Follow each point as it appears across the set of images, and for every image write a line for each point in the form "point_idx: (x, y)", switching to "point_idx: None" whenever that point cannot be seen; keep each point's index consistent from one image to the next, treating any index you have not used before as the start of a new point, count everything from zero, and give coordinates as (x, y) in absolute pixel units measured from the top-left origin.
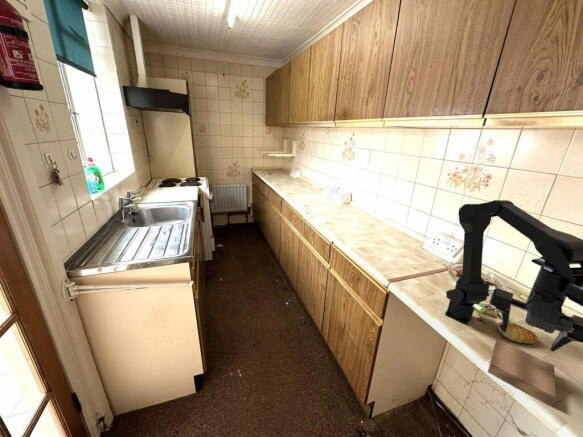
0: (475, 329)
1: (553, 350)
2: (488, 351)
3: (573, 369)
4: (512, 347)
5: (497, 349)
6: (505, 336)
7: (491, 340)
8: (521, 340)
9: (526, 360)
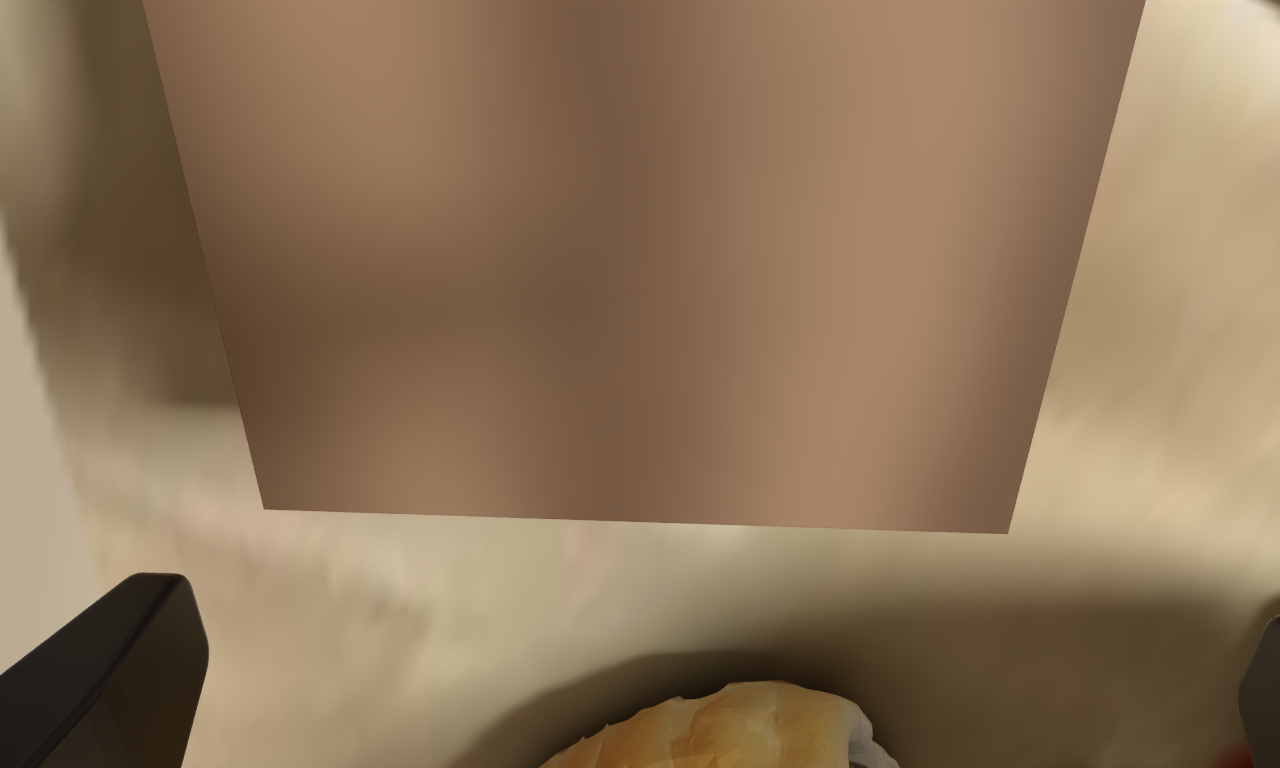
0: (1193, 607)
1: (117, 598)
2: None
3: None
4: (785, 498)
5: (1027, 277)
6: (833, 694)
7: None
8: (657, 732)
9: (587, 337)
